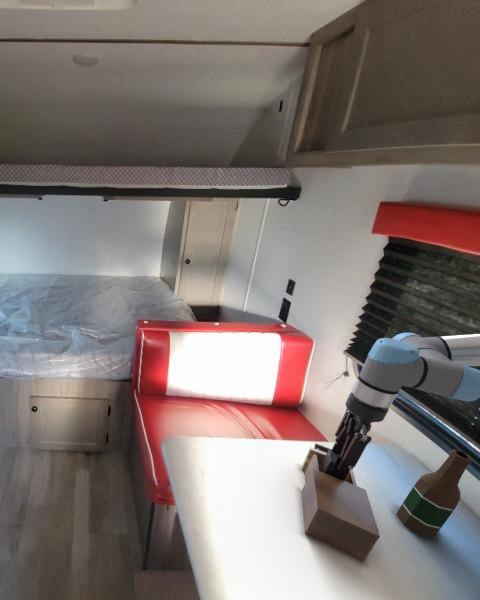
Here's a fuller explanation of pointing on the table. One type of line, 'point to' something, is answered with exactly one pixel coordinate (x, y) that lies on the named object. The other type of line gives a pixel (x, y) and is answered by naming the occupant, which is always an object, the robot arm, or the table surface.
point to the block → (331, 463)
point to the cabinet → (338, 515)
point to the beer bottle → (434, 497)
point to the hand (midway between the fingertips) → (333, 470)
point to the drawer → (321, 462)
